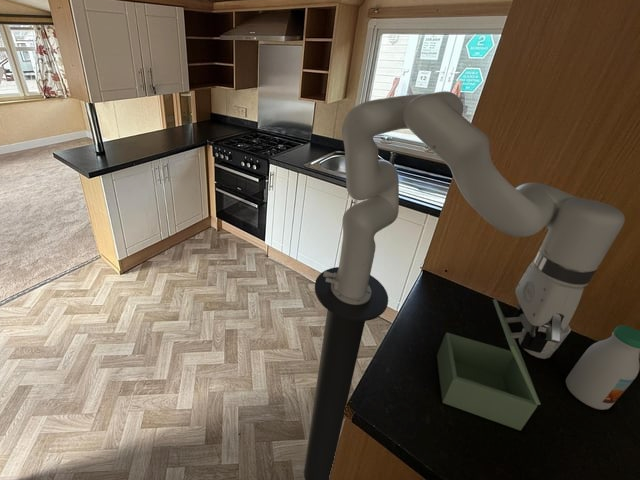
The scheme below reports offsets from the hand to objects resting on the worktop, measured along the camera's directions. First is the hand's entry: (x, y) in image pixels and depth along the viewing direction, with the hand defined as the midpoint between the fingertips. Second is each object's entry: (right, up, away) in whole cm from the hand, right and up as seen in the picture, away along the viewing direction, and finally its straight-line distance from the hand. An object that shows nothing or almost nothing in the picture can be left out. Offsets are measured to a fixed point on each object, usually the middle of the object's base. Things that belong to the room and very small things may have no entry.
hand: (525, 336), depth 63 cm
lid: (-1, -4, +2) cm, 4 cm away
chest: (-3, -17, +10) cm, 20 cm away
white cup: (+20, -12, +20) cm, 31 cm away
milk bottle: (+22, -18, +9) cm, 30 cm away
